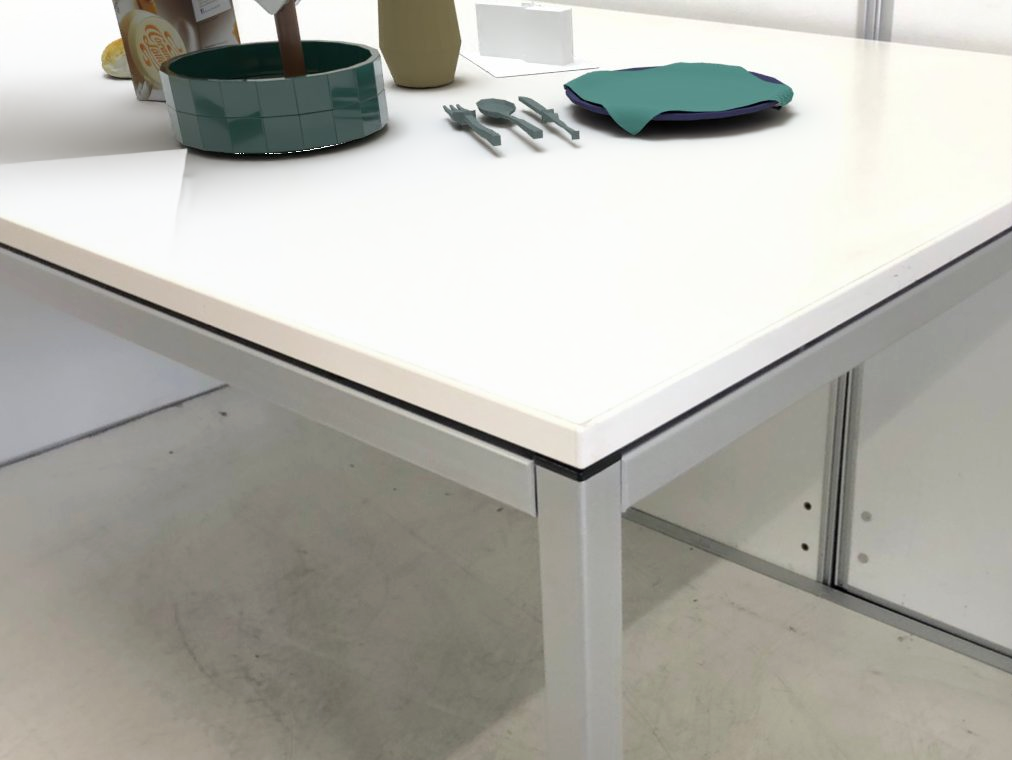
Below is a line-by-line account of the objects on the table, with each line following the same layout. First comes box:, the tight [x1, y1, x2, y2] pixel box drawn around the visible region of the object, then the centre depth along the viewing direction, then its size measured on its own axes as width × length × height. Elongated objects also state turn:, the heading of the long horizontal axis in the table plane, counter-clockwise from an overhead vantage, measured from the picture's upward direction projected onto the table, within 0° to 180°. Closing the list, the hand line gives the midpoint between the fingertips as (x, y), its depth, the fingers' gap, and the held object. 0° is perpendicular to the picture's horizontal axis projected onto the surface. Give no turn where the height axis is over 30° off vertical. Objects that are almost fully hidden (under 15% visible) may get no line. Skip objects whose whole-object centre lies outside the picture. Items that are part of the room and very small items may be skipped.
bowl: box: [159, 39, 390, 154], centre depth 93 cm, size 17×17×6 cm
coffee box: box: [111, 0, 242, 102], centre depth 103 cm, size 9×6×16 cm
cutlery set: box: [442, 61, 795, 147], centre depth 98 cm, size 20×30×2 cm, turn 113°
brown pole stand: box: [273, 0, 307, 78], centre depth 91 cm, size 5×5×16 cm
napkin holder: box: [459, 0, 600, 78], centre depth 119 cm, size 15×11×6 cm
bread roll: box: [100, 37, 132, 79], centre depth 117 cm, size 8×9×4 cm
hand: (290, 4), depth 90 cm, fingers closed on brown pole stand
